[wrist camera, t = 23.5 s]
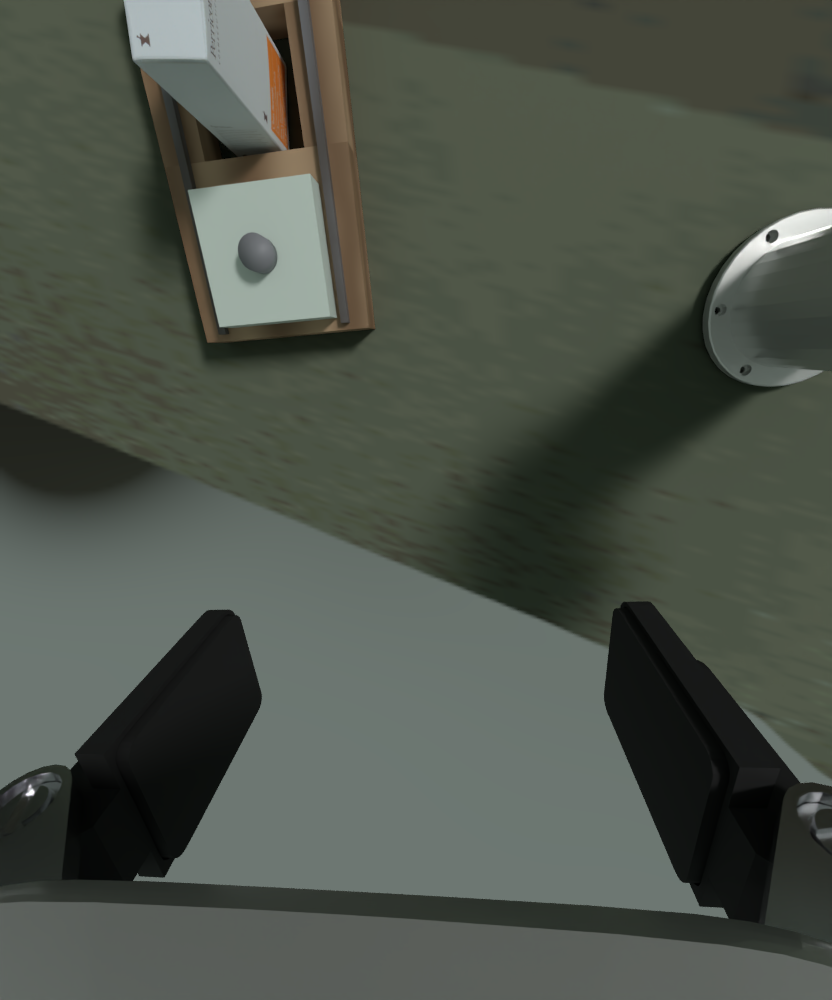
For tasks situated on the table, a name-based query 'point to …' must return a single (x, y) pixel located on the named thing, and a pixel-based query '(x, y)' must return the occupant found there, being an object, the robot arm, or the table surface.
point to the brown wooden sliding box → (282, 166)
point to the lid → (265, 251)
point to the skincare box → (215, 67)
